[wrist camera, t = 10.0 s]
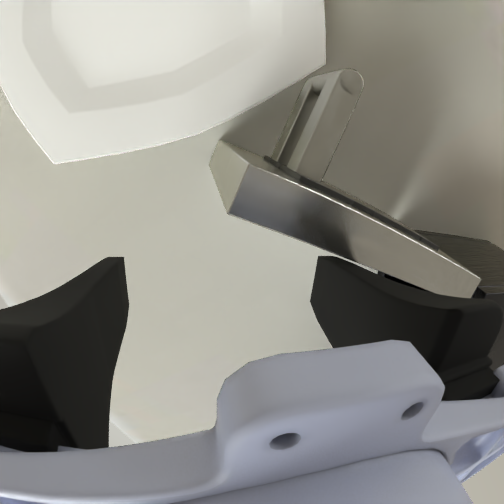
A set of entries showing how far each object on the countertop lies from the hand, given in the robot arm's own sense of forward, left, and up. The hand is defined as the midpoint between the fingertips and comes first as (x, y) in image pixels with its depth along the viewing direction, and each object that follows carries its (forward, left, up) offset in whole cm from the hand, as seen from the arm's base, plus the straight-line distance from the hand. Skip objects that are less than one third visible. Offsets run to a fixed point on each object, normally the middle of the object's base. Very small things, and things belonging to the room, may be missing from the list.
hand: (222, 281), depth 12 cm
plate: (+13, +6, -8) cm, 17 cm away
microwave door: (+5, -7, -8) cm, 11 cm away
